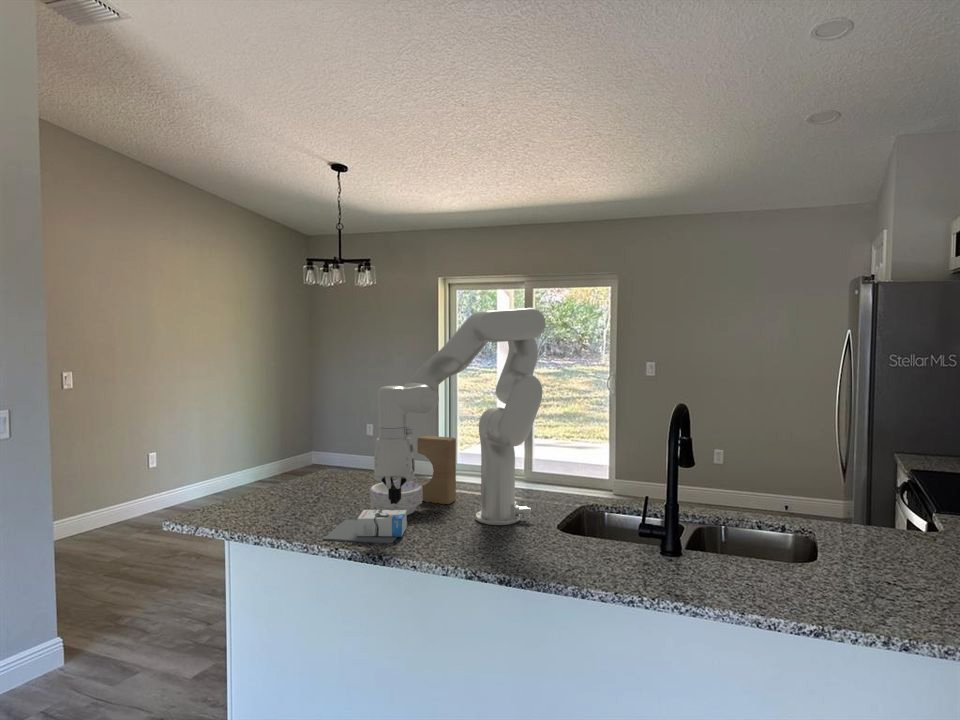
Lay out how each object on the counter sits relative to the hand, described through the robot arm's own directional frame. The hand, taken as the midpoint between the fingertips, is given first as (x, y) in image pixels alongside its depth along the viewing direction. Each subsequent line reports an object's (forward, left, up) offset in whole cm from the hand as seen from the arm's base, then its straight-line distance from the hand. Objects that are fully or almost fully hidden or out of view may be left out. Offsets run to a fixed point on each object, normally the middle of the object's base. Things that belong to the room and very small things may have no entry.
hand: (395, 502), depth 161 cm
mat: (+7, 0, -8) cm, 11 cm away
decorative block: (-5, -32, -8) cm, 33 cm away
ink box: (-3, +1, -5) cm, 6 cm away
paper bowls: (+4, -18, -8) cm, 20 cm away
